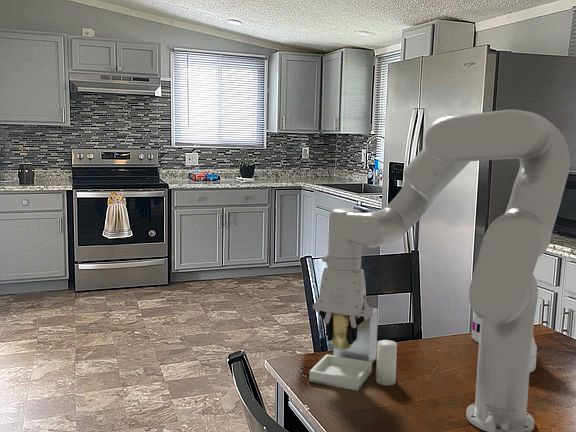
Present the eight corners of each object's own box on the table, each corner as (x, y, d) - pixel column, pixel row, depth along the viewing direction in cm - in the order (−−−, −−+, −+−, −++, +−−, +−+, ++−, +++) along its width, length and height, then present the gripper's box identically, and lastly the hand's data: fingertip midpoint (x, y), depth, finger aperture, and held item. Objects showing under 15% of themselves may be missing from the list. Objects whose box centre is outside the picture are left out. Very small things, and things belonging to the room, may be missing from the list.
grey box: (368, 368, 139) (370, 314, 137) (333, 362, 142) (334, 309, 140) (376, 358, 145) (378, 306, 144) (342, 352, 149) (344, 302, 147)
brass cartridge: (347, 350, 130) (348, 311, 129) (328, 347, 132) (330, 309, 130) (353, 344, 134) (354, 306, 133) (335, 341, 136) (336, 304, 134)
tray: (357, 390, 126) (358, 379, 126) (309, 381, 131) (309, 370, 130) (371, 372, 137) (371, 362, 136) (326, 364, 141) (326, 354, 141)
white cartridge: (392, 386, 129) (394, 348, 127) (373, 383, 130) (375, 344, 129) (397, 379, 133) (398, 341, 132) (378, 376, 134) (380, 338, 133)
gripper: (303, 262, 130) (301, 340, 133) (376, 271, 123) (372, 352, 126) (315, 256, 137) (312, 330, 139) (385, 264, 130) (381, 341, 133)
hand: (341, 340), depth 133 cm, fingers closed on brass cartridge, 4 cm apart
